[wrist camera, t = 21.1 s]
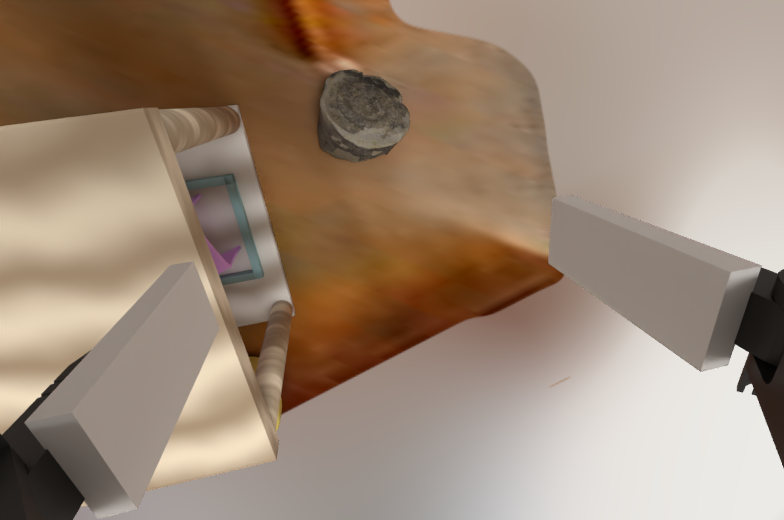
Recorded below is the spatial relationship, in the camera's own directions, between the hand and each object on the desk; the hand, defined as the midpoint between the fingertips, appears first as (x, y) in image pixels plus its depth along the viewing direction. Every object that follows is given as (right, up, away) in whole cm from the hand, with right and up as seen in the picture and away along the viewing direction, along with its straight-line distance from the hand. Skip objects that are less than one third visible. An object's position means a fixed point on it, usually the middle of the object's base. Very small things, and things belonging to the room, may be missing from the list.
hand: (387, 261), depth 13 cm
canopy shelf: (-25, +4, +34) cm, 43 cm away
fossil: (-4, +18, +32) cm, 37 cm away
